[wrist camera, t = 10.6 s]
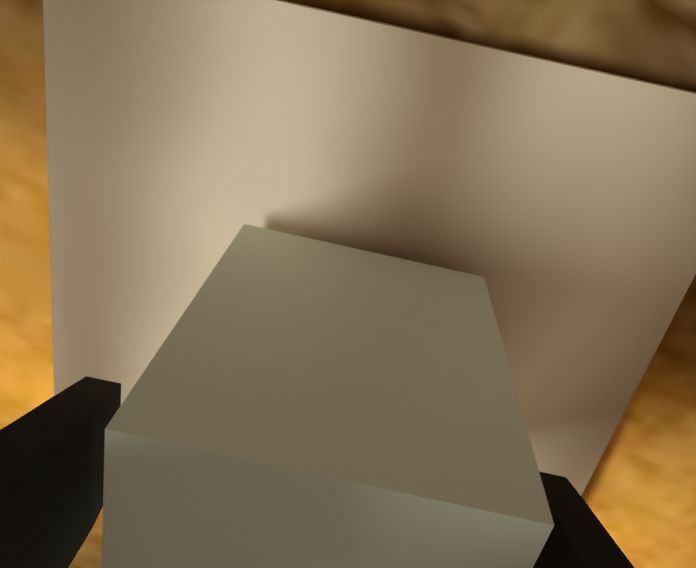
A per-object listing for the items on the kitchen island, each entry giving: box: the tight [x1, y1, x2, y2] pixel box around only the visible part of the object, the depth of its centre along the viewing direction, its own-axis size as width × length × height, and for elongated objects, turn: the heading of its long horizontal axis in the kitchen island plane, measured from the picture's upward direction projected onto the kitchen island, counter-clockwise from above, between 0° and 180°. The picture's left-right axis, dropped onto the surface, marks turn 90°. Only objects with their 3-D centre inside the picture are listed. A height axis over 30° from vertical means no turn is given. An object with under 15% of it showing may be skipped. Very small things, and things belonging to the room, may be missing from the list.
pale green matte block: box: [102, 224, 554, 568], centre depth 11 cm, size 5×5×7 cm
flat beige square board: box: [43, 0, 696, 496], centre depth 12 cm, size 14×14×7 cm
